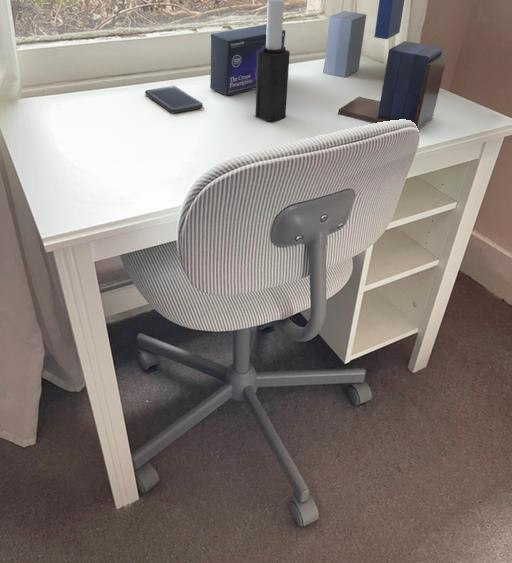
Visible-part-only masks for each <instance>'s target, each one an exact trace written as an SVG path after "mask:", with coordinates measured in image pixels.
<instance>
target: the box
mask: <svg viewBox="0 0 512 563" xmlns="http://www.w3.org/2000/svg"><path fill="white" fill-rule="evenodd" d="M266 31H267V23H265V24H260V25H254V26H249V27H248V26H247V27H244V28H242V27H241V28H235V29H231V30H225V31H219V32H213V33H210V84H209V89H210V90H213V91H215V92H218V93H220V94H222V95H223V96H227V97H228V96H232V95H236V94H241V93H245V92H248V91H252V90H256V73H257V51H258V50H260V49H261V48H262V46H263V45H266ZM285 40H286V30H285V29H282V43H281V46H284V47H285Z"/></svg>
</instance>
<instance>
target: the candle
mask: <svg viewBox="0 0 512 563" xmlns="http://www.w3.org/2000/svg"><path fill="white" fill-rule="evenodd" d="M284 3H285V0H267V4H266V5H267V8H266V24H267V31H266V45H263V46H262V48H261V49H260V50H258V51H257V73H256V89H255V110H254V112H255V113H254V116H255V118H257V119H261V120H262V121H265V122H267V123H275V122H278V121H280V120H283V119H285V118H286V115H287V99H288V84H289V69H290V55H291V54H290V50H288V49H287V48H286V46H285V45H284V46H281V43H282V30H283V24H284V23H283V22H284V5H285V4H284Z"/></svg>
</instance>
